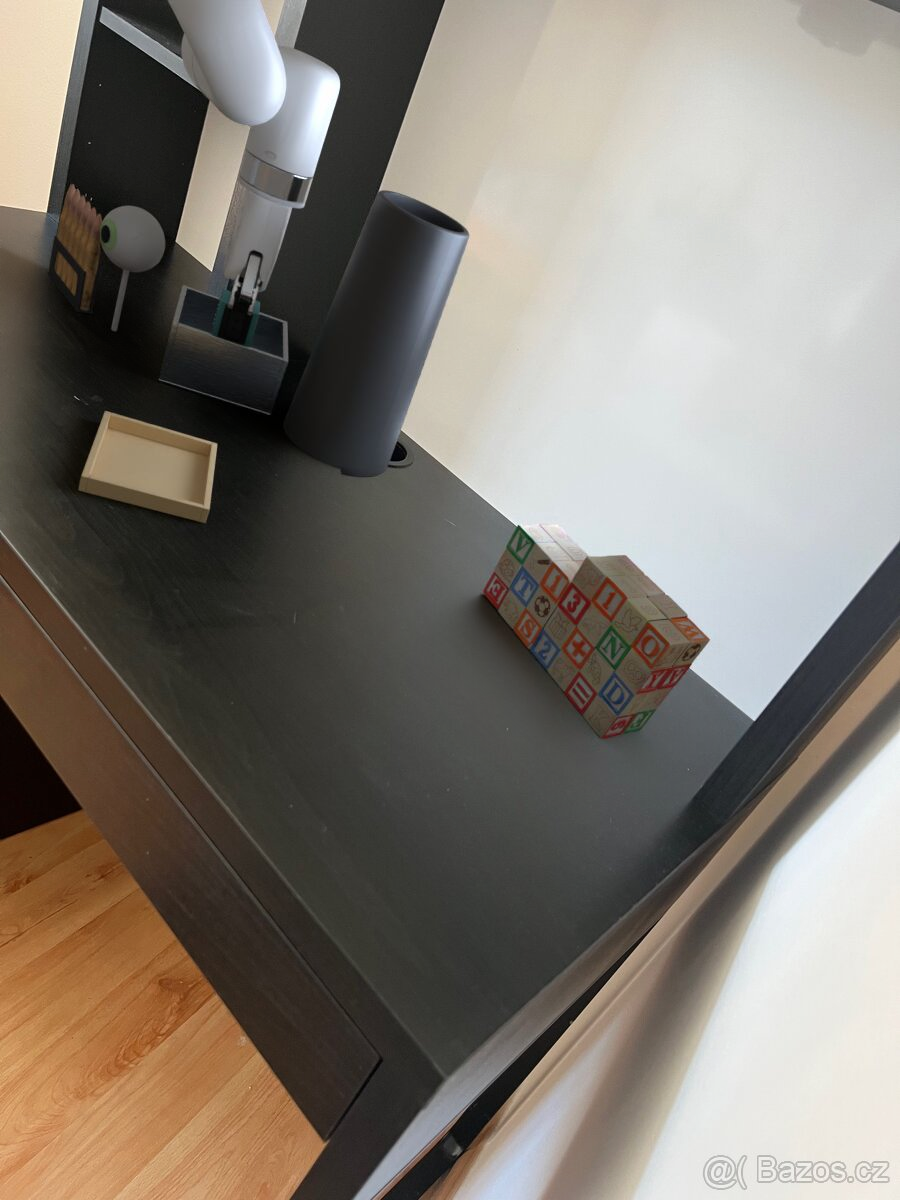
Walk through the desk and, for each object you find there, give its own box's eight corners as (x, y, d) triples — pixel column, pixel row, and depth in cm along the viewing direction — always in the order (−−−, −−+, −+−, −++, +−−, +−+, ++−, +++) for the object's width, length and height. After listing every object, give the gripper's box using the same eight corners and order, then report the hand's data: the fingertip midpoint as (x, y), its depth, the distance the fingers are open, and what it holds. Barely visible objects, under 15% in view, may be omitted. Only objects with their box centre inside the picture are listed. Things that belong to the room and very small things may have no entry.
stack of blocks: (479, 592, 91) (530, 498, 84) (520, 590, 95) (572, 500, 89) (601, 740, 79) (672, 643, 72) (643, 731, 83) (713, 638, 77)
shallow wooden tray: (77, 495, 75) (81, 475, 74) (101, 428, 86) (105, 410, 85) (204, 527, 79) (209, 509, 78) (212, 460, 90) (217, 443, 89)
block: (211, 337, 100) (221, 301, 98) (213, 323, 103) (222, 288, 101) (249, 349, 101) (259, 314, 99) (249, 335, 105) (260, 301, 103)
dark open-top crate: (156, 385, 98) (172, 322, 94) (168, 342, 108) (182, 284, 104) (269, 419, 103) (288, 361, 99) (269, 376, 113) (287, 321, 109)
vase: (403, 458, 110) (498, 239, 95) (359, 489, 98) (459, 245, 83) (315, 407, 111) (395, 182, 96) (260, 431, 99) (342, 181, 84)
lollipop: (71, 314, 103) (94, 189, 96) (125, 317, 109) (150, 200, 101) (102, 343, 100) (127, 217, 93) (155, 345, 106) (183, 227, 98)
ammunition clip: (47, 273, 110) (62, 179, 103) (62, 275, 111) (77, 182, 105) (77, 312, 104) (94, 215, 98) (92, 314, 106) (110, 218, 99)
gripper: (243, 150, 98) (204, 299, 107) (238, 183, 85) (194, 349, 94) (306, 176, 101) (263, 319, 110) (310, 212, 88) (260, 371, 97)
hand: (231, 332), depth 102 cm, fingers closed on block, 4 cm apart
